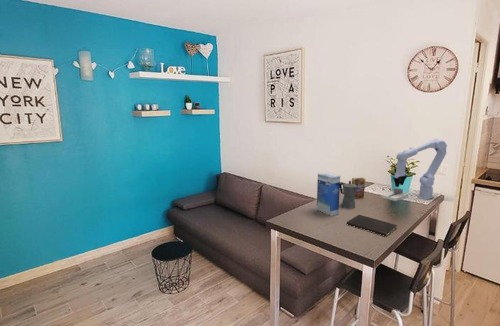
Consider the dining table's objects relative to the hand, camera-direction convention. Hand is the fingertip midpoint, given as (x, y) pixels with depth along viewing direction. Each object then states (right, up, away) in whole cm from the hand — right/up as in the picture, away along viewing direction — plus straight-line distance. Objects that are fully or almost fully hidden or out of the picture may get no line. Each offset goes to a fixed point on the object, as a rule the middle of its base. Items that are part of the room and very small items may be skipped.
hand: (399, 185), depth 218 cm
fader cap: (0, -6, +3) cm, 6 cm away
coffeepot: (-45, -13, -15) cm, 49 cm away
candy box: (-32, -9, +1) cm, 33 cm away
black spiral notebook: (-42, -21, -49) cm, 68 cm away
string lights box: (-62, -15, -27) cm, 69 cm away
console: (-3, -9, +1) cm, 9 cm away
